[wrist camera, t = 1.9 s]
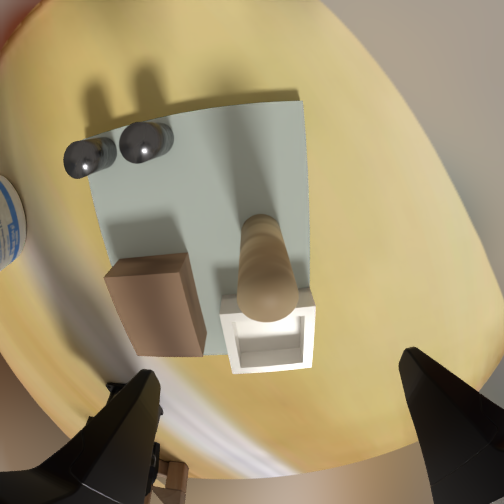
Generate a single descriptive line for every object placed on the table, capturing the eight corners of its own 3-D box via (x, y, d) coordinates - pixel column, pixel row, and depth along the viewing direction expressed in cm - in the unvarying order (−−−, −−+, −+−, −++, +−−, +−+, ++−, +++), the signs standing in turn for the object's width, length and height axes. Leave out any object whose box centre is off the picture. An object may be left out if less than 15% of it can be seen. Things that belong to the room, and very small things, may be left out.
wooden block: (189, 467, 43) (182, 535, 27) (144, 460, 43) (132, 524, 27) (185, 462, 42) (176, 533, 25) (138, 455, 42) (124, 521, 26)
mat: (149, 349, 26) (147, 354, 25) (87, 139, 17) (81, 139, 16) (305, 342, 25) (307, 347, 24) (300, 102, 16) (302, 100, 15)
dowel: (243, 252, 20) (240, 324, 13) (239, 215, 19) (233, 274, 12) (281, 248, 20) (298, 319, 13) (279, 212, 19) (298, 268, 11)
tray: (233, 354, 25) (232, 373, 22) (222, 295, 22) (219, 314, 19) (307, 347, 24) (311, 367, 22) (309, 287, 21) (315, 305, 19)
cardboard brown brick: (146, 333, 24) (137, 355, 21) (119, 258, 20) (103, 277, 17) (207, 332, 23) (203, 356, 21) (188, 252, 20) (179, 272, 17)
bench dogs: (93, 171, 17) (67, 182, 14) (88, 141, 16) (60, 147, 13) (176, 153, 17) (160, 159, 14) (171, 119, 16) (154, 118, 13)
